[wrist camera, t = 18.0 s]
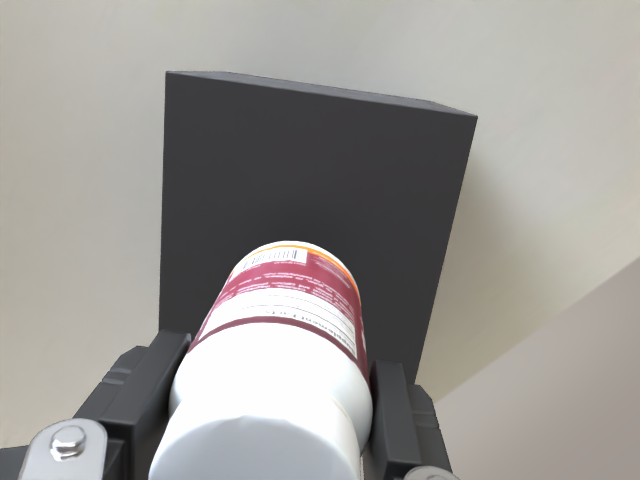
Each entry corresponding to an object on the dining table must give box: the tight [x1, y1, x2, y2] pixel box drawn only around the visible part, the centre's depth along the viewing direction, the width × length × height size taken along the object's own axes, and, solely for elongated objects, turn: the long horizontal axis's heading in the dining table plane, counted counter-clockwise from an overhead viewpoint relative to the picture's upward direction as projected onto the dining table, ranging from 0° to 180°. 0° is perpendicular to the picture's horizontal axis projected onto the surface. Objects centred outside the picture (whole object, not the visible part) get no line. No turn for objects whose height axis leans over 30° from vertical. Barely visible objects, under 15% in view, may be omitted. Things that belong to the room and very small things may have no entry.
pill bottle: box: [148, 241, 373, 480], centre depth 13 cm, size 5×5×8 cm
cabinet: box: [159, 71, 478, 384], centre depth 24 cm, size 14×12×10 cm
